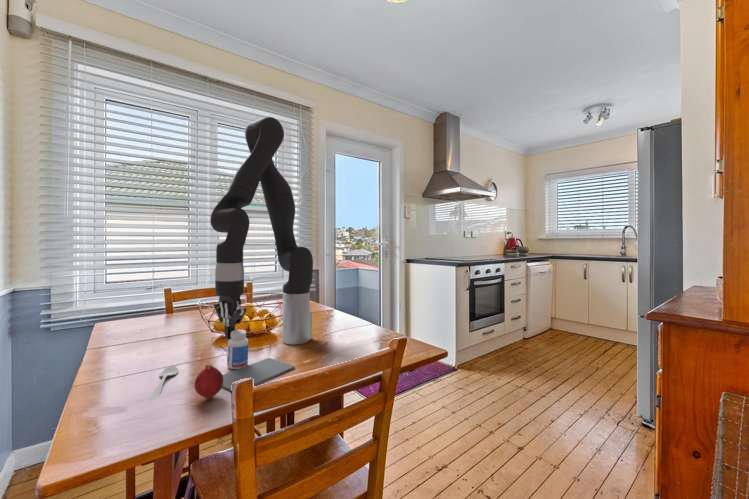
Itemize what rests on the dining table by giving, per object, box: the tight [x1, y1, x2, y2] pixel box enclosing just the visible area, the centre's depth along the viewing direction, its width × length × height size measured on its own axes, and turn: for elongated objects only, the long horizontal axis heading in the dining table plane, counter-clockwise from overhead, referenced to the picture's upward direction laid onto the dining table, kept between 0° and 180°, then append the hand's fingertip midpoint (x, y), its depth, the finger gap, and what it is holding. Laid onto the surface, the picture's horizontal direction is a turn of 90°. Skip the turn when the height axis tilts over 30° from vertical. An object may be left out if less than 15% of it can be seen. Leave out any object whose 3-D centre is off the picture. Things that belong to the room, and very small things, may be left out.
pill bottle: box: [226, 329, 249, 370], centre depth 92 cm, size 6×5×10 cm
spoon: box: [148, 365, 179, 401], centre depth 80 cm, size 4×21×2 cm, turn 19°
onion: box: [194, 363, 224, 400], centre depth 73 cm, size 6×6×8 cm
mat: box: [221, 357, 296, 393], centre depth 86 cm, size 18×11×1 cm, turn 146°
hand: (229, 338), depth 94 cm, fingers closed
